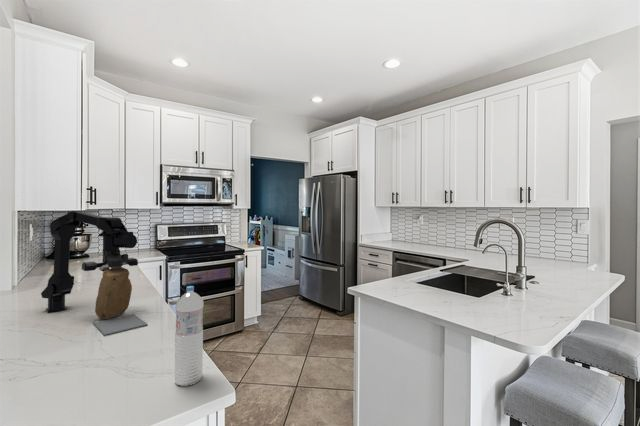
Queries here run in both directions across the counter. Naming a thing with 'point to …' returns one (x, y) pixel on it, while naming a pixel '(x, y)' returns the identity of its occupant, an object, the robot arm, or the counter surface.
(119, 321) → the mat
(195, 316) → the water bottle
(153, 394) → the counter surface
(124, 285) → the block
